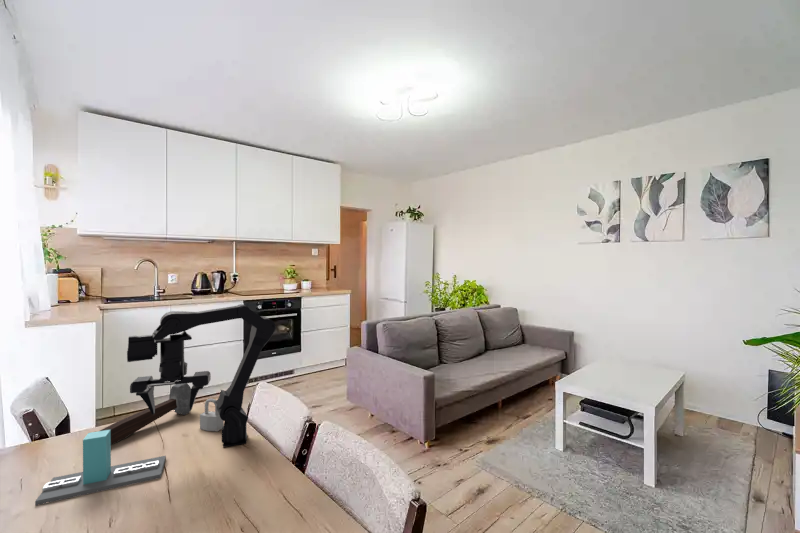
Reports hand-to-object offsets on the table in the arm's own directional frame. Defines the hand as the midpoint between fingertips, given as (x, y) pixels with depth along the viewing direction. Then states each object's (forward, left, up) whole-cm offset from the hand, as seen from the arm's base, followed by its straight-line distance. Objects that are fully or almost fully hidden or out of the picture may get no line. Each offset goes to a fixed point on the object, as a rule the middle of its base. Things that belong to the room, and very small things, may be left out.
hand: (172, 411), depth 103 cm
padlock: (-8, -16, -13) cm, 22 cm away
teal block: (+15, +7, -12) cm, 20 cm away
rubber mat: (+13, +7, -13) cm, 20 cm away
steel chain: (+14, +7, -12) cm, 19 cm away
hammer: (+12, -24, -14) cm, 30 cm away
